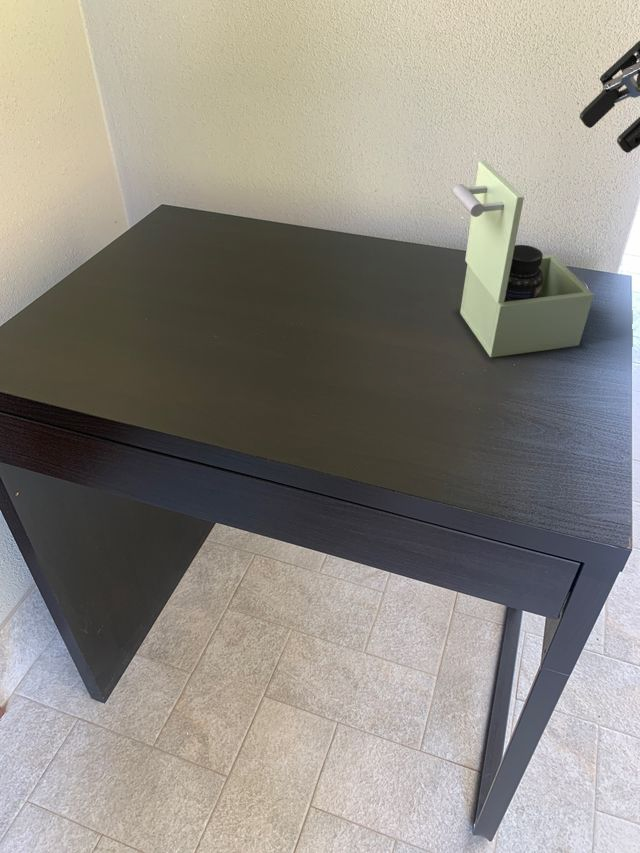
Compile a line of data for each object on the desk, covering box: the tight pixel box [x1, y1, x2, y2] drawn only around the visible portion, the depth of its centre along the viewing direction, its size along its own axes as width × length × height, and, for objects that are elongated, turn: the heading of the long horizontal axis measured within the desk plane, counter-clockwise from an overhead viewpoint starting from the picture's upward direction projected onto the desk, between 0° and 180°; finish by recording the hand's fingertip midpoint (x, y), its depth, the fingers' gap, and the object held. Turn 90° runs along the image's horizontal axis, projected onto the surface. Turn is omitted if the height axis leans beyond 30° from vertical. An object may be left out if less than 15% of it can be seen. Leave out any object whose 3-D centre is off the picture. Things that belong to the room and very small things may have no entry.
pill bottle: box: [504, 244, 543, 302], centre depth 91 cm, size 6×6×11 cm
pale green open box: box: [459, 253, 595, 358], centre depth 93 cm, size 13×11×8 cm
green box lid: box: [452, 160, 525, 303], centre depth 85 cm, size 14×11×5 cm
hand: (601, 134), depth 79 cm, fingers open, 8 cm apart
